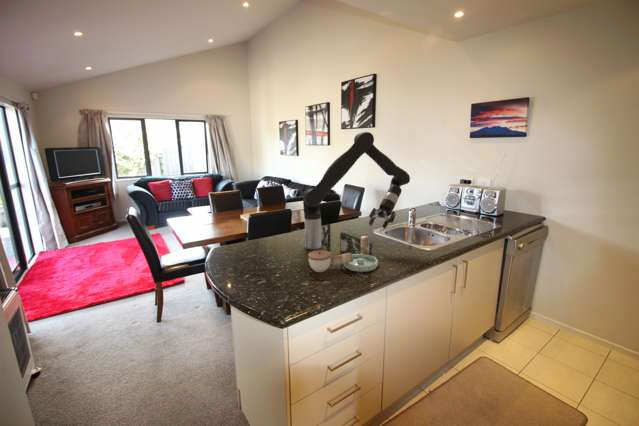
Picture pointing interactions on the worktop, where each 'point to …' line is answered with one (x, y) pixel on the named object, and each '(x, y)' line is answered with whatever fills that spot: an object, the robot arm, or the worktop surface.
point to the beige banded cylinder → (341, 259)
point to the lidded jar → (319, 260)
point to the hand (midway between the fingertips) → (376, 226)
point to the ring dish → (362, 263)
